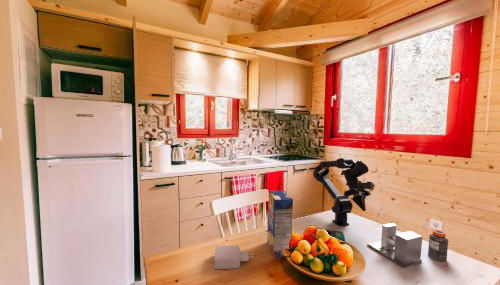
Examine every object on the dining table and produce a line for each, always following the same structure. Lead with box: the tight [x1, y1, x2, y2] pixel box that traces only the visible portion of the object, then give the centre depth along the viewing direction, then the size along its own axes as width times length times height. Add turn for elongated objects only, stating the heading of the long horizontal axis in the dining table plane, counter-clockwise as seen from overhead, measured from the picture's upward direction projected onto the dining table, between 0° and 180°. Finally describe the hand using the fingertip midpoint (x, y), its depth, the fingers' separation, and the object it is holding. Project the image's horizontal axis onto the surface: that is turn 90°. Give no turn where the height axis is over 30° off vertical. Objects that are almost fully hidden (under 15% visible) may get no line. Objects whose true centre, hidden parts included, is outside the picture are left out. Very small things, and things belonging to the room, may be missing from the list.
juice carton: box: [266, 190, 294, 258], centre depth 94 cm, size 12×8×24 cm, turn 7°
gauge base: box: [367, 230, 423, 269], centre depth 92 cm, size 16×11×11 cm
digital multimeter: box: [317, 227, 346, 242], centre depth 106 cm, size 7×15×3 cm, turn 74°
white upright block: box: [378, 222, 397, 250], centre depth 93 cm, size 5×8×10 cm, turn 111°
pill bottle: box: [427, 229, 449, 262], centre depth 90 cm, size 6×6×11 cm
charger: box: [213, 244, 254, 270], centre depth 85 cm, size 5×9×15 cm
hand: (364, 210), depth 105 cm, fingers closed
